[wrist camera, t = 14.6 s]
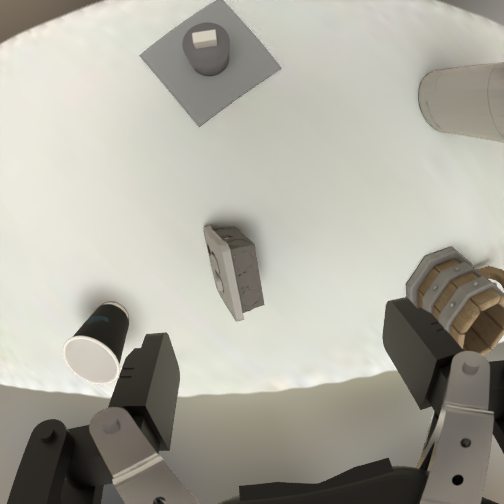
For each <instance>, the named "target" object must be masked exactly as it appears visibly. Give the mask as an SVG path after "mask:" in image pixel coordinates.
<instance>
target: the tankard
mask: <svg viewBox="0 0 504 504" xmlns="http://www.w3.org/2000/svg"><path fill="white" fill-rule="evenodd" d="M489 278H490V279H493V280H496V281H498V282H499V283H500V284H501V285H502V287H503V288H504V271H503V270H502V269H498V268H494V267H490V266H488V267H485V268H481V269H474V268H472V263H470V262H469V261H468V260H467V259H466V258H465V257H463V256H462V255H461V254H460V253H459V252H458V251H456V250H455V249H454V248H452V247H449V248H447V249H444V250H441V251H438V252H436V253H433V254H430V255H427V256H425V257H424V259H423V260H422V262H421V263H420V265H419V266H418V268H417V269H416V271H415V272H414V274H413V275H412V277H411V278H410V280H409V281H408V283H407V284H406V290H407V298H408V299H409V300H410V301H411V302H412V303H413V304H414V305H415V306H416V308H420V307H421V308H422V309H424V310H426V311H428V312H430V313H431V314H432V315H433V316H434V317H435V318H436V319H437V320H438V321H439V323H440V324H441V325H442V326H443V327H444V330H447V332H448V333H449V334H450V335H451V336H452V337H453V338H454V340H455V341H456V342H457V343H458V344H459V345H460V347H461V348H462V349H463V350H464V351H473V352H477V353H479V354H481V355H483V356H484V355H486V354H488V353H489V352H490V350H493V348H494V347H495V346H496V344H497V343H498V342H499V340H500V339H501V338H502V336H503V335H504V293H503V292H502V291H501V290H500V289H499V288H498V287H497V284H496V283H492V282H491V281H490V280H488V279H489Z"/></svg>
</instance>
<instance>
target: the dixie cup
mask: <svg viewBox="0 0 504 504" xmlns="http://www.w3.org/2000/svg"><path fill="white" fill-rule="evenodd" d="M128 326H129V317H128V313H127V311H126V310H125V309H124V308H123V307H122V306H121V305H119V304H117V303H114V302H107V303H105V304H103V305H101V306H100V307H98V308H97V310H96V311H95V312H94V313H93V314H92V315H91V316H90V317H89V319H88V320H87V321H86V322H85V323H84V324H83V325H82V326H81V328H80V329H79V330H78V331H77V332H76V333H75V335H74V336H73V337H71V338H69V339H68V340H67V341H66V342H65V344H64V346H63V357H64V359H65V362H66V364H67V365H68V367H69V368H70V369H71V370H72V371H73V372H74V373H75V374H76V375H77V376H79V377H80V378H82V379H83V380H85V381H88V382H90V383H94V384H100V385H104V384H109V383H112V382H114V381H115V380H116V379H117V378H118V376H119V373H120V365H119V364H120V360H121V355H122V351H123V347H124V343H125V338H126V334H127V330H128Z"/></svg>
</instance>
